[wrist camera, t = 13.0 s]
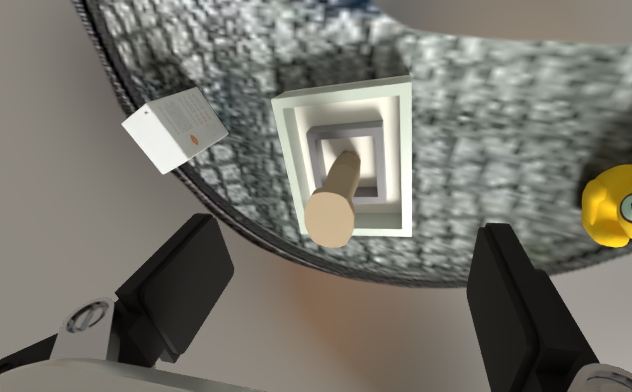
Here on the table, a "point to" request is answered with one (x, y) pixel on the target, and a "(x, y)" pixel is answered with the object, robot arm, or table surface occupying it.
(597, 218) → the duckling
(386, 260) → the table surface
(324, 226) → the handle
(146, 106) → the small box
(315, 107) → the housing
